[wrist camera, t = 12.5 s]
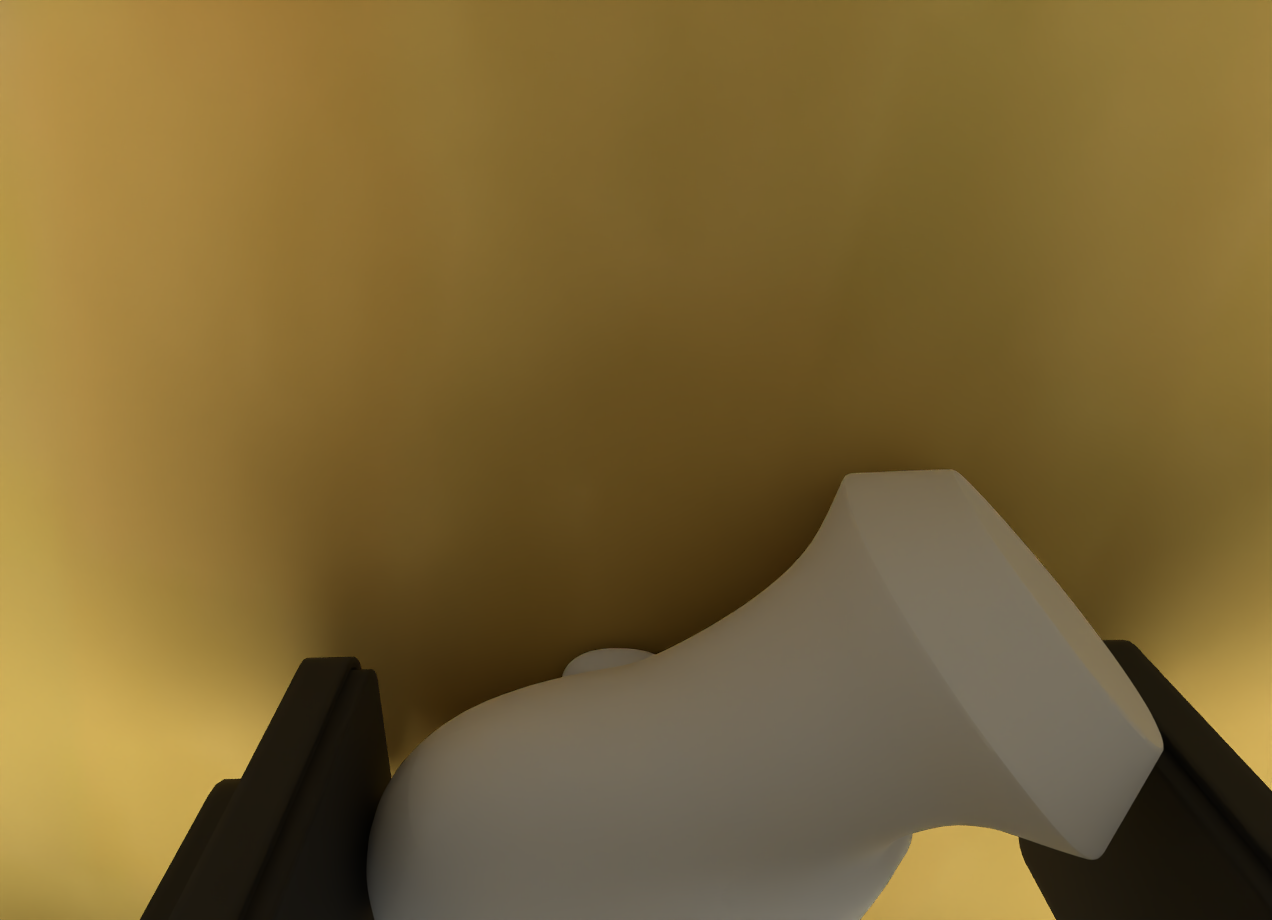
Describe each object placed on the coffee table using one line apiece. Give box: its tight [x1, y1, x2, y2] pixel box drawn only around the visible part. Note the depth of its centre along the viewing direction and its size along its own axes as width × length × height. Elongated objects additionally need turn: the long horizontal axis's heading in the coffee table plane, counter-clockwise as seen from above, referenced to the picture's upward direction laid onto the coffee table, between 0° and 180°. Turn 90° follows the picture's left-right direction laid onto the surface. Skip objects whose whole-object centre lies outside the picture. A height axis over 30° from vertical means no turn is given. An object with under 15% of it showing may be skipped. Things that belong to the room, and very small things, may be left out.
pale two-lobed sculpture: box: [366, 469, 1163, 920], centre depth 10 cm, size 4×8×5 cm
